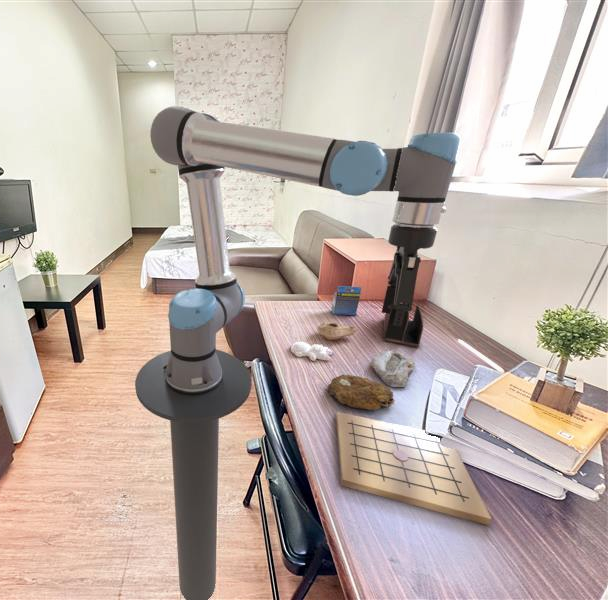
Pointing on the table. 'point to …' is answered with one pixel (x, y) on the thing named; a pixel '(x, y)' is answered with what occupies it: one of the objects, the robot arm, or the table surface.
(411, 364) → the fossil
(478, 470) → the table surface
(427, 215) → the robot arm
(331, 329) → the pottery oil lamp
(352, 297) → the label tape box
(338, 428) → the grid board
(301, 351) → the astronaut figurine
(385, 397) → the decorative rock
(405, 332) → the letter holder
